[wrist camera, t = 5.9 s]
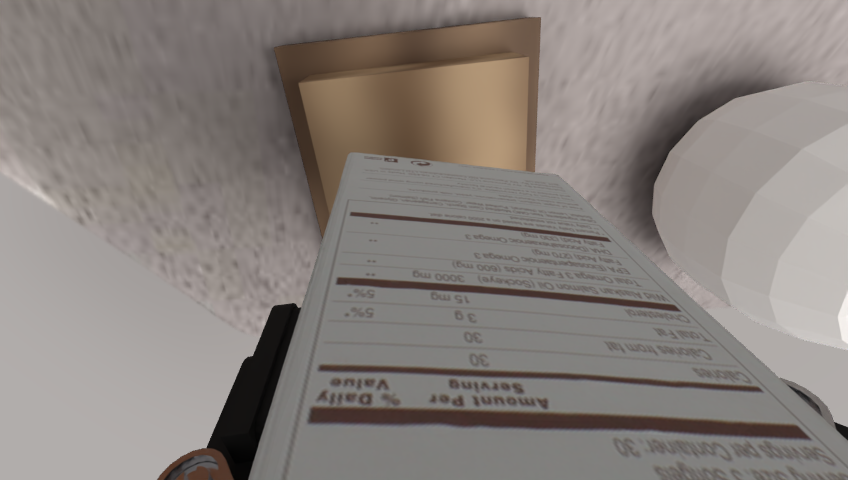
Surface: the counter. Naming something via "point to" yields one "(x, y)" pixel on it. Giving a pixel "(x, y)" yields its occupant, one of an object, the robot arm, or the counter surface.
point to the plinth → (400, 53)
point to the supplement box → (515, 348)
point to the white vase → (766, 208)
